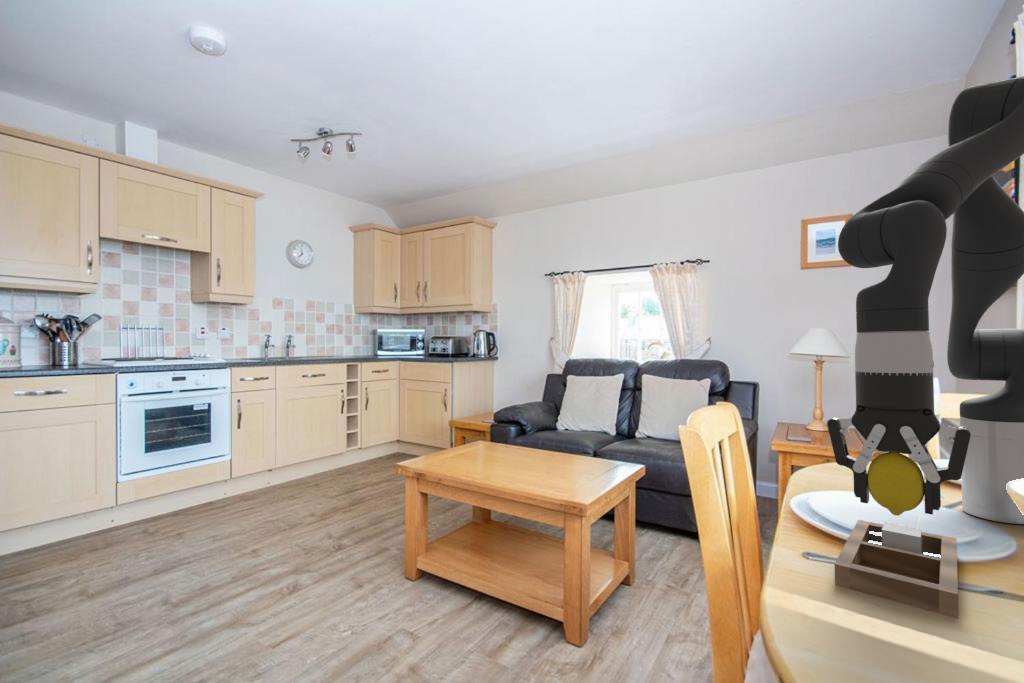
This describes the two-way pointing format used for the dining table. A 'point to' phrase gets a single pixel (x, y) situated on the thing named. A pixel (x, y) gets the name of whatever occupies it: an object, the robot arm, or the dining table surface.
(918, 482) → the lemon
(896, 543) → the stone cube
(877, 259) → the robot arm
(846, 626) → the dining table surface
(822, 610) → the dining table surface
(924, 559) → the wooden tray
